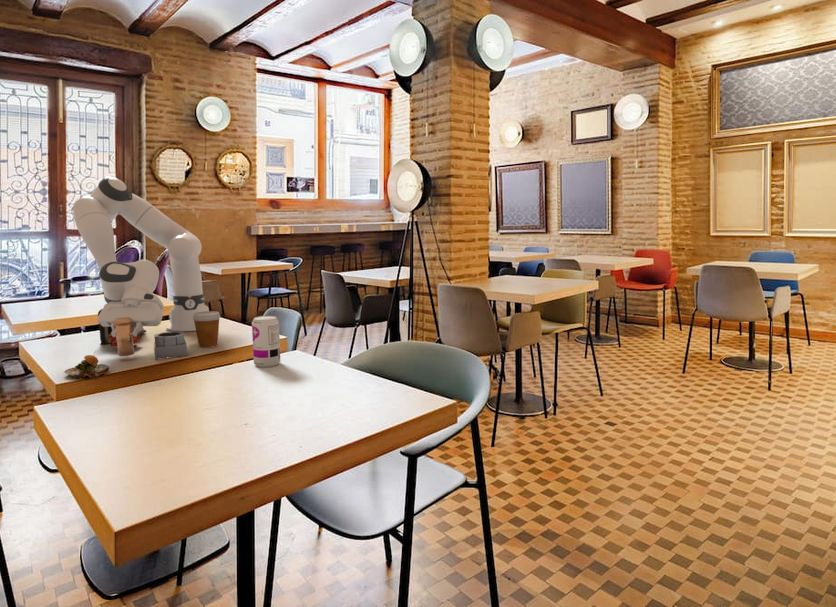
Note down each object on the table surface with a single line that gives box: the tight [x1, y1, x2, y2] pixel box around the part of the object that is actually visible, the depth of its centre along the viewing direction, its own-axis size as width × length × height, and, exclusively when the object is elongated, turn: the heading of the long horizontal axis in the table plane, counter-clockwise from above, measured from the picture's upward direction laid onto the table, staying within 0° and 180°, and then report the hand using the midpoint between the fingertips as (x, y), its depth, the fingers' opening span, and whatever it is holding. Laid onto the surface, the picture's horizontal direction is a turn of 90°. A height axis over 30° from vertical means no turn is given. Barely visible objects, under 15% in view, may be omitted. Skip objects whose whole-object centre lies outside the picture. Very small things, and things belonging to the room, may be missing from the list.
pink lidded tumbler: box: [114, 317, 135, 357], centre depth 194 cm, size 5×5×12 cm
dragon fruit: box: [108, 331, 142, 350], centre depth 211 cm, size 8×8×12 cm
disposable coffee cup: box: [192, 310, 221, 348], centre depth 213 cm, size 10×10×12 cm
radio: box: [97, 307, 147, 347], centre depth 226 cm, size 23×9×15 cm, turn 166°
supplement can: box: [251, 315, 281, 368], centre depth 187 cm, size 8×8×15 cm
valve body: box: [153, 331, 189, 360], centre depth 203 cm, size 16×10×7 cm, turn 25°
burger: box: [64, 351, 110, 380], centre depth 177 cm, size 12×12×8 cm
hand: (123, 335), depth 193 cm, fingers closed on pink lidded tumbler, 5 cm apart
